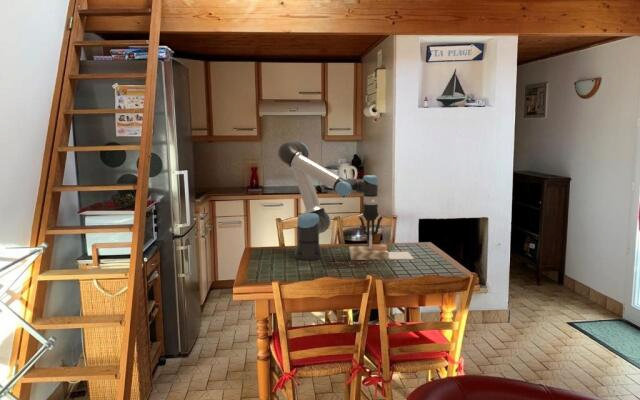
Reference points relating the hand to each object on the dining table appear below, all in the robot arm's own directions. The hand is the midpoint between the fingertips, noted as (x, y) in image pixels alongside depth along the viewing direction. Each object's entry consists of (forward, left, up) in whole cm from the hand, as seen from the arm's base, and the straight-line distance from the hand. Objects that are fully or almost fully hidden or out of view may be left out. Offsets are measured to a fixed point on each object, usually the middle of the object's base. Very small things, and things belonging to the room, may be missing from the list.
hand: (370, 246), depth 264 cm
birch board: (-1, 0, -6) cm, 6 cm away
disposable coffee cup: (+4, +17, -6) cm, 19 cm away
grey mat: (+16, 0, -6) cm, 17 cm away
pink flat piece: (+5, 0, -2) cm, 5 cm away
